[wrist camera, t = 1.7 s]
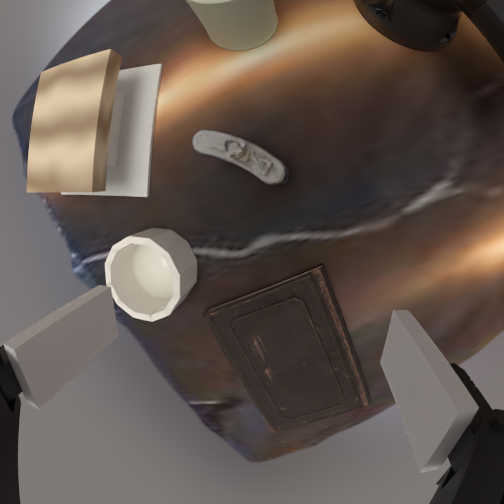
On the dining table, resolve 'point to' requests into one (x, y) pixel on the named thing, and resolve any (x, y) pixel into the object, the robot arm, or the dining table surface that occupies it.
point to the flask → (241, 155)
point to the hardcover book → (292, 351)
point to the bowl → (151, 273)
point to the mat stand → (131, 133)
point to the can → (237, 22)
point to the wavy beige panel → (73, 125)
